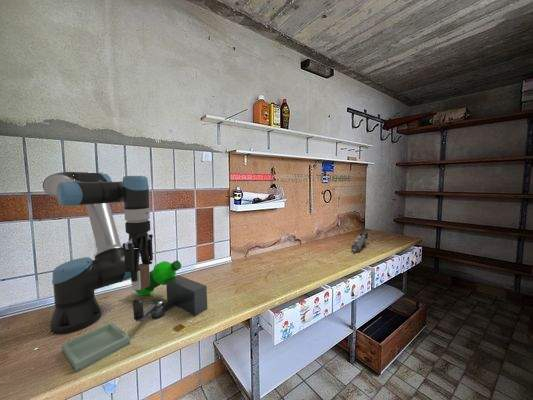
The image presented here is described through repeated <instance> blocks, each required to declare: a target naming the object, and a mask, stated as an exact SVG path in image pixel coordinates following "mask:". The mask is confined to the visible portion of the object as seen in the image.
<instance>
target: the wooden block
mask: <svg viewBox="0 0 533 400" xmlns="http://www.w3.org/2000/svg"><path fill="white" fill-rule="evenodd" d="M138 271H140V279H141V289H140V290H143V289H145V288H147V287H149V286H150V275H149V272H150V264H149V265H147V264H142V263H139V267H138Z"/></svg>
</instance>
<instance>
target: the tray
mask: <svg viewBox="0 0 533 400" xmlns="http://www.w3.org/2000/svg"><path fill="white" fill-rule="evenodd" d="M128 345H131V338H130V335H128V334H127V333H126V332H125V331H124V330H122V329H121V328H120V327H119V326H118V325H116V324H115V323H114V322H112V321H111V322H108V323H107V324H104V325H101V326H100V327H97V328H95V329H93V330H91V331H89V332H86V333H84V334H82V335H79V336H78V337H75V338H73V339H71V340H68V341H65V342H64V343H61V352H62V354H63V355H64V357H65V358H66V360H67V361H68V363H69V364H70V366H72V368H73V370H74V372H75V373H78V372H80V371H82V370H84V369H86V368H88V367H90V366H91V365H93V364H95V363H98V362H99V361H101V360H102V359H105V358H107V357H108V356H110V355H112V354H114V353H116V352H118V351H120V350H122V349H123V348H125V347H126V346H128Z"/></svg>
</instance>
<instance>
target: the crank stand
mask: <svg viewBox="0 0 533 400" xmlns="http://www.w3.org/2000/svg"><path fill="white" fill-rule="evenodd" d="M165 286H166V302H165V301H164V305H163V306H161V307H159V308H156V309H155V310H154V311H153V312H152V313H151V314H150V318H151V319H152V320H157V319H161V318H163V317H164V316H165V314H166V313H165V312H167V311H169V310H171V309H173V308H175V307H176V308H179V309H181V310H182V311H184V312H186V313H188V314H191V315H192V316H194V317H196V316H198V315H201V314H202V313H203V312H206V311H207V310H208V291H207V290H208V289H207V285H206V284H203V283H200V282H197V281H195V280H192V279H189V278H188V277H185V276H184V277H183V276H182V275H175V277H172V278H170V279H167V280H166V285H165ZM185 328H186V325H183V324H182V323H179V324H177V325H176V326H174V327H172V330H174V331H176V332H180V331H182V330H183V329H185Z"/></svg>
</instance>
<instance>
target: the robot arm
mask: <svg viewBox="0 0 533 400" xmlns="http://www.w3.org/2000/svg"><path fill="white" fill-rule="evenodd" d="M103 173H104V172H99V173H94V172H93V173H88V171H61V172H56V173H53V174H50V175H49V176H47V177H45V179H44V180H43V181H42V189H43V191H44V193H46V194H47V195H49V196H50V197H53V198H55V199H56V198H57V201H58V204H59V205H61V206H63V207H68V206H69V207H77V206H86V209H87V214H88V217H89V222H90V225H91V226H90V227H91V230H92V234H93V238H94V242H95V246H96V250H97V252H96V254H94V260H93V259H92V258H91V257H88V256H85V257H82V258H81V257H79V258H76V259H72V260H69V261H66V262H64V263H61V264H59V265H58V266H56V267H55V268H54V269H53V271H52V280H51V281H52V282H51V283H52V285H53V297H54V310H53V314H52V317H51V320H50V323H49V326H50V332H51V333H52V334H54V335H55V334H56V335H65V334H69V333H70V334H71V333H73V332H77V331H80V330H83V329H85V328H88V327H89V326H91V325H93V324H95V323H96V322H97V321H99V320H100V319H101V317H102V307H101V306H100V304H99V303H98V300H97V299H96V297H95V290H98V289H102V288H105V287H108V286H113V285H115V284H118V283H122V282H124V281H127V280H130V281H131V290H132V291H135V290H140V289H141V279H140V271H138V267H139V264H140V260H141V264H147V265H149V266H150V265H152V264H153V259H154V255H153V253H154V251H153V249H154V248H153V236H154V235H153V234H149V233H148V232H150V231H151V221H150V219H151V218H150V217H151V216H150V213H151V211H150V193H149V188H150V185H149V179H148V177H147V176H145V175H125V176H123V177H122V181H113V180H112V178H111V177H110V175H109V174H108V173H105V174H103ZM73 175H74V176H73ZM74 179H75V180H74ZM117 203H123V205H124V206H123V208H124V221H125V224H124V225H125V233H126V234H128V241H127V242H124V243H122V244H121V240H120V237H119V233H118V229H117V227H116V222H115V219H114V216H113V212H112V210H111V206H110V204H117ZM149 275H150V273H149Z"/></svg>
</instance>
